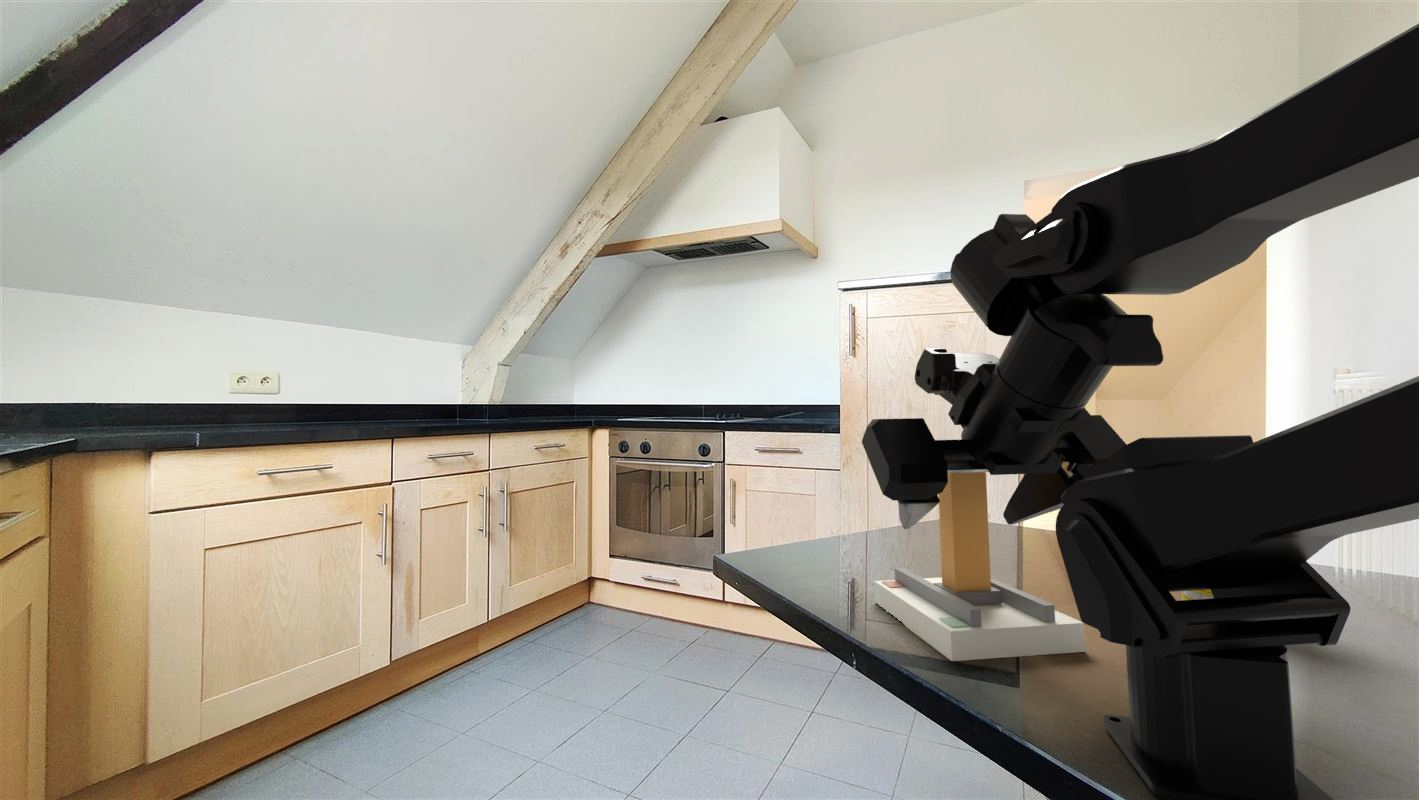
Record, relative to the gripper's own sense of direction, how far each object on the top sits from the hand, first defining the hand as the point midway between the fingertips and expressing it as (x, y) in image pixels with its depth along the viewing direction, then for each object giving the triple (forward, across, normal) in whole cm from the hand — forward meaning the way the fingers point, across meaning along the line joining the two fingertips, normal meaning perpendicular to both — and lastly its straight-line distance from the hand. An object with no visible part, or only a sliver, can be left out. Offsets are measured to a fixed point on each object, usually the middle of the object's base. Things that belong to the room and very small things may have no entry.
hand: (956, 522), depth 47 cm
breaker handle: (+3, 0, +5) cm, 6 cm away
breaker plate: (+5, 0, +6) cm, 8 cm away
